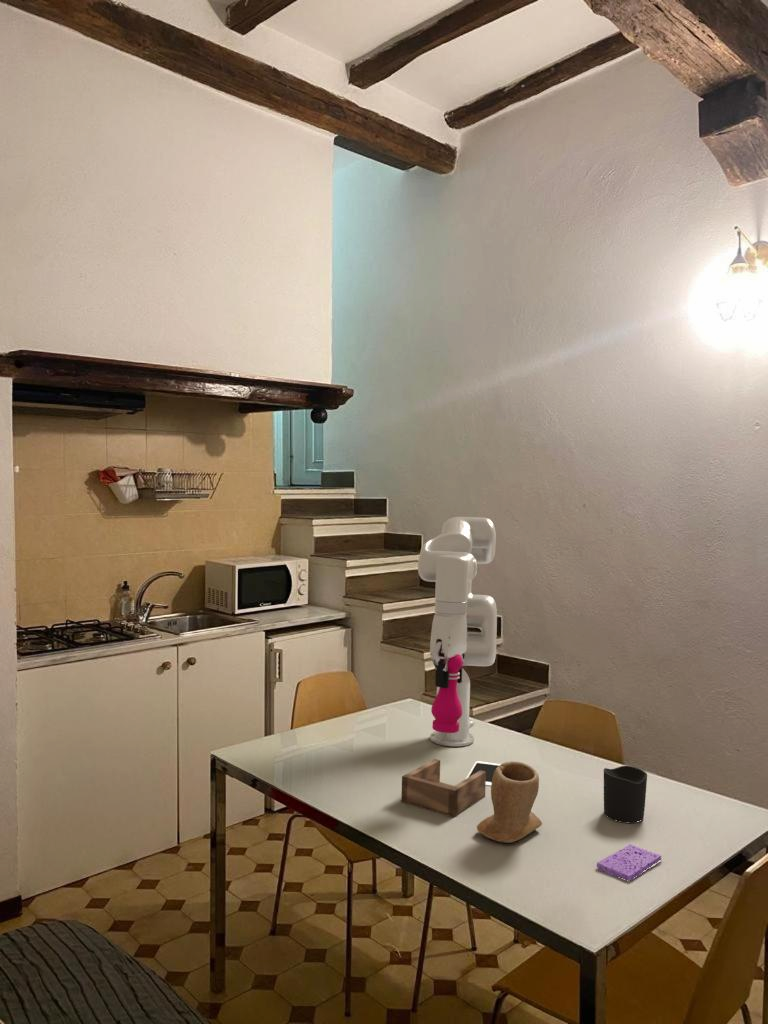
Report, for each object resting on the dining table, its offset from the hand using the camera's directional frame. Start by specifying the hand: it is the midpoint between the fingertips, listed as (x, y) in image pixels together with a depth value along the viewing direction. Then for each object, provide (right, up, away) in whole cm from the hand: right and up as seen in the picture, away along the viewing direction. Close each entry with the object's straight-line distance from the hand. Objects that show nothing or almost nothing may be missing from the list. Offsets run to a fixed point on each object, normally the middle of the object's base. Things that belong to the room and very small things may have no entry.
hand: (448, 683), depth 186 cm
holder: (-1, -27, +1) cm, 27 cm away
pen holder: (+39, -29, -6) cm, 49 cm away
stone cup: (+12, -28, -17) cm, 35 cm away
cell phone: (+11, -28, +18) cm, 35 cm away
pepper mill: (-1, -11, 0) cm, 11 cm away
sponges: (+33, -30, -30) cm, 54 cm away
